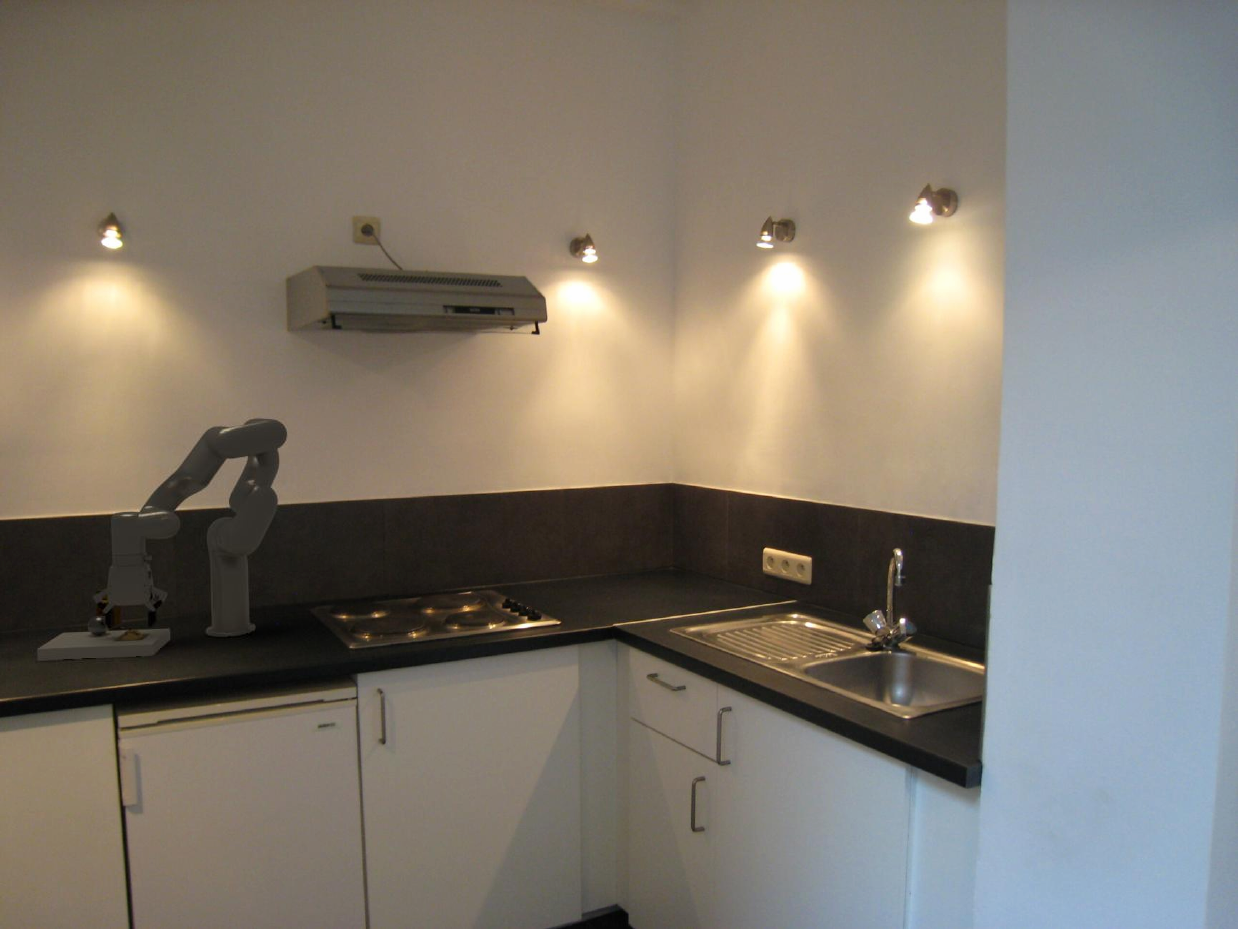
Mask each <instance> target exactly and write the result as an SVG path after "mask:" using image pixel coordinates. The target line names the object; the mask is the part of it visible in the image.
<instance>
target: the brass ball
mask: <svg viewBox="0 0 1238 929" xmlns="http://www.w3.org/2000/svg"><path fill="white" fill-rule="evenodd" d="M138 630H139V629H136V628H134V629H131V630H128V631H126V632H125V633H124V634H123V635H122V637H121V641H135V640H143V636H142V634H141V632H139V631H138Z"/></svg>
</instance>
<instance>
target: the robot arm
mask: <svg viewBox="0 0 1238 929" xmlns="http://www.w3.org/2000/svg"><path fill="white" fill-rule="evenodd" d="M287 438H288V431H287V428H286V426H285V425H284V423H282V421H279V420H277V419H274V418H273V419H272V418H259V417H257V418H251V419H248V420H247V421H246V422H244V423H243V425H242V424H241V425H235V426H223V425H222V426H221V425H218V426H212V427H210V428H208V429H206V430H205V431H204V432H203V434H202V435H201V437H200V438H199V439H198V441H197V442H196V443H195V445H194V446H193V447H192V449H191V451H190V452H189V453H188V454H187V456H186V457H185V458H184V460H183V461H182V462H181V464H180V465H179V467H178V468H177V469H176V470H175V471H174V472H173V473H172V474H170V476H168V477H167V478H166V479H165V480H164V481H163V482H162V483H161V484H160V485H158V487H157V488H156V489H155V490H154V491H153V493H151V495H150V496H149V497H148V499H147V500H146V502H144V505H143V506H142V507H141V508H140V510H139V511H133V510H132V511H131V510H130V511H120V512H116V513H114V514H112V516H111V518H110V520H111V521H110V522H111V524H110V525H111V552H112V554H111V555H112V556H111V558H112V565H111V566H109V571H108V578H107V586H106V588H107V589H106V590H104V591H102V592H100V593H98V594H97V593H96V594H94V595H93V596H92V599H93V601H94V602H95V604H96V603H97V606H98V607H99V608H100V609H101V610H103V612H104V613H105V623H106V625H107V628H108V629H110V628H112V627H113V626H114V625H115V622H114V611H112V608H113V607H114V606H119V605H121V606H142V605H145V607H146V608H147V609H148V610H149V611H148V612H147V621H148V622H147V624H148V625H147V626H148V627H149V628H152V627H154V626H155V624H156V623H157V621H158V617H157V616H158V615H157V614H158V613H157V612H158V611H157V610H158V609H159V607H161V606H162V605H163V604H164V601H165V600H166V598H167V597H168V592H167V591H164V590H162V589H159V588H157V587H155V586H154V580H153V573H152V569H151V565H150V564H149V563H147V562H149V561H150V562H151V561H152V559H153V557H152V555H150V554H147V552H146V539H149V540H150V539H151V540H152V539H153V540H165V539H169V538H172V537H174V536H175V535H177V533H178V532H179V531H180V528H181V520H180V518H179V516H178V515H177V514H176V513H174V512H175V511H176V510H177V508H178V507H179V506H180V505H182V503H183V502H185V500H187V499H188V498H190V497H191V496H193V495H196V494H198V493H199V492H202V491H203V490H205V489H206V488H207V487H208V486H209V485H210V483H211V481H212V480H213V479H214V478H215V476H217V475H216V474H217V473H218V472H219V471H220V469H221V468H222V466H223V465H224V464H225V462H226V461H227V459H229V460H232V459H233V460H234V459H240V458H245V457H247V461H246V463H245V466H244V468H243V470H242V472H241V474H240V476H239V477H238V480H237V481H236V484H235V486H233V489H232V491H231V493H230V495H229V498H228V504H229V505H228V506H229V507H230V509H231V510H232V511H233V513H236V514H235V515H234V517H231V516H226V517H225V516H224V517H220V518H217V519H216V520H214V521H213V522H211V524H210V526H209V527H208V528H207V533H206V543H207V545H206V546H207V550H208V555H209V556H208V557H209V563H210V564H209V567H210V600H211V602H210V605H211V606H210V607H211V608H210V609H211V626H209V627H206V629H205V634H206V635H207V636H210V637H213V638H214V637H215V638H229V637H228V636H231V637H236V636H237V637H239V636H243V634H244V635H247V634H246V633H248V634H250V632H251V633H253V632H254V631H256V625H255V624H254V623H251V622H250V602H249V601H250V599H249V596H250V595H249V593H250V591H249V563H248V557H247V556H248V555H250V554H252V553H254V552H255V551H256V550H257V549H258V547H259V546H260V544H261V543H262V540H263V539H264V537H265V535H266V532H267V531H268V529H269V526H271V523H272V521H273V519H274V518H275V515H276V512H277V510H278V504H279V499H278V498H279V497H278V495H277V493H276V491H275V490H274V489H273V488H272V486H273V483H274V481H275V479H276V476H277V474H278V472H279V468H280V453H279V448H281V447H282V446H284V444H285V443H286V441H287ZM105 595H107V601H108V603H109V604H108V605H107V604H106V603H105V602H103V601H102V597H103V596H105ZM155 595H156V596H158V597H159V598H158V600H157V601H156V602H155V601H154V599H155ZM252 631H253V632H252Z"/></svg>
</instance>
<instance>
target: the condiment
mask: <svg viewBox="0 0 1238 929" xmlns="http://www.w3.org/2000/svg"><path fill="white" fill-rule="evenodd" d="M106 589H107V587H105V588H100V589H97V590H96V594H98V593H100V592H102V591H104V590H106ZM102 601H103V602H105V603H106V604H107V605H108V604H109V603H108V601H107V595H105V596H103V597H102ZM112 611H114V622H115V625H114V626H113V627H112V628H110V629H109V630H108V631H121V628H123V627H122V625H123V624H122V605H119V606H114V607H113V608H112ZM95 616H104V617H105V613H104V612H103V610H101V609H100V608H99V607H98V606H97V603H96V602H95Z"/></svg>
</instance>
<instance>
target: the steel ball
mask: <svg viewBox="0 0 1238 929" xmlns="http://www.w3.org/2000/svg"><path fill="white" fill-rule="evenodd" d="M87 630H88V632H91V633H92V634H94V635H102V634H104V633H106V632H107V631H108V630H109V629H108V628H107V625H106V623H105V617H104V616H96V615H95V616H93V617H92V618H90V620H89V621H88V623H87Z"/></svg>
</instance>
